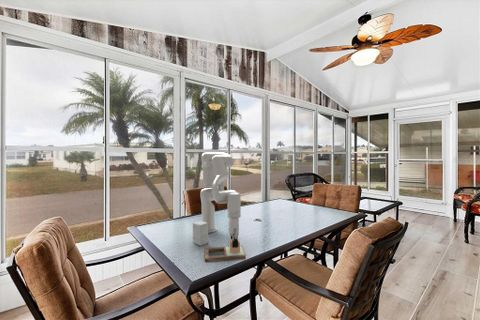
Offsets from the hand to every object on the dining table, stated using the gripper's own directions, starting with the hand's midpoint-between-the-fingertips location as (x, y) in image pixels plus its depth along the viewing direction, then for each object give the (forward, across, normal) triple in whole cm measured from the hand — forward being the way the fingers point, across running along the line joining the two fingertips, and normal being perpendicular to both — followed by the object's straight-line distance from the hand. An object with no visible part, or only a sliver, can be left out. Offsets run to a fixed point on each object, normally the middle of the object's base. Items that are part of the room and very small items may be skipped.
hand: (234, 243), depth 127 cm
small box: (+6, -19, -20) cm, 28 cm away
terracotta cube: (+4, 0, 0) cm, 4 cm away
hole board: (+6, 0, -6) cm, 8 cm away
